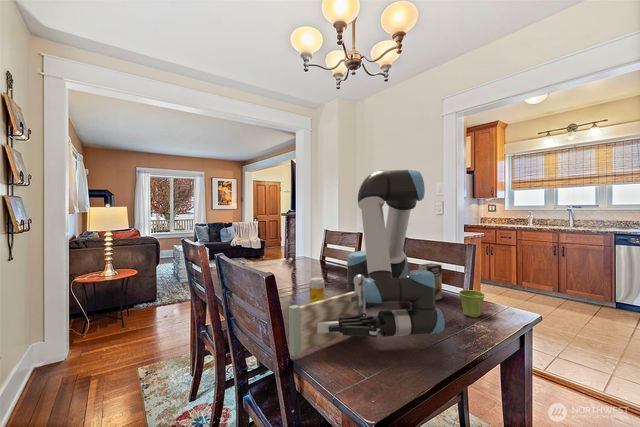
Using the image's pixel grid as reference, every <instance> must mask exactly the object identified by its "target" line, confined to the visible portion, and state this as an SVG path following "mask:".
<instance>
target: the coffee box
mask: <svg viewBox="0 0 640 427" xmlns="http://www.w3.org/2000/svg"><path fill="white" fill-rule="evenodd" d="M418 270H426V271H430V272H432V273H433V274H434V279H435V301H436V300H441V299H442V298H443V286H442V285H443V283H442V282H443V281H442V280H443V279H442V277H443V276H442V274H443V272H442V271H443V269H442V264H439V263H433V262H431V263H430V262H429V263H423V264H418Z"/></svg>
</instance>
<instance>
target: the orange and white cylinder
mask: <svg viewBox="0 0 640 427" xmlns="http://www.w3.org/2000/svg"><path fill="white" fill-rule="evenodd" d="M325 295H326V294H325V280H324V278H323V277H321V276H320V277H318V276H317V277H316V276H315V277H311V278H310V279H309V303H313V302H316V301H320V300H324V299H326V298H325Z"/></svg>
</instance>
